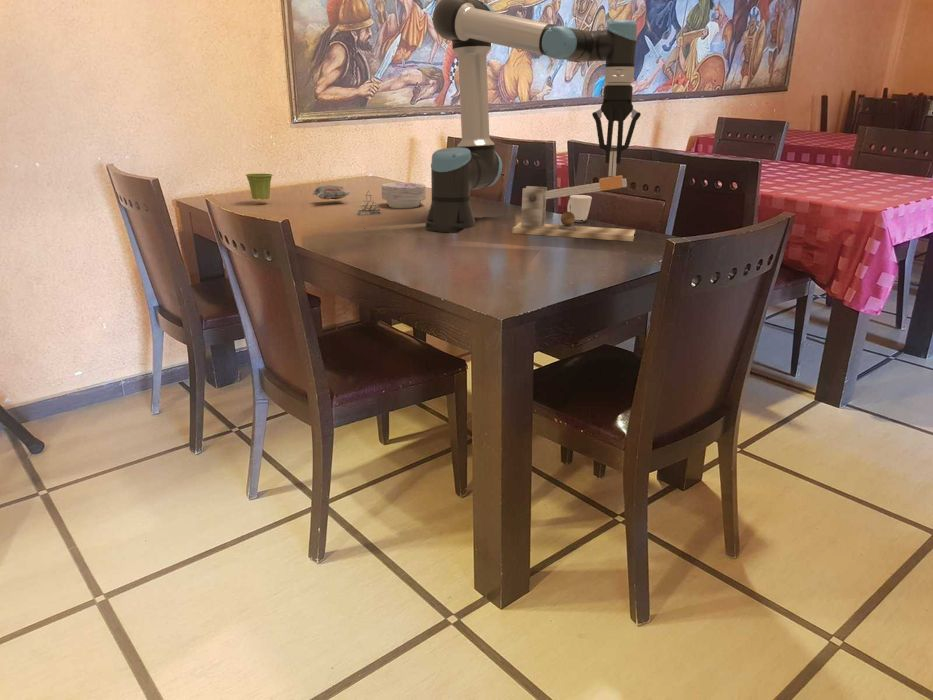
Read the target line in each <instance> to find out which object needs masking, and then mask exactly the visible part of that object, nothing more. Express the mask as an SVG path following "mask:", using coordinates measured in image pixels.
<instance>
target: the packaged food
mask: <svg viewBox="0 0 933 700" xmlns="http://www.w3.org/2000/svg"><path fill="white" fill-rule="evenodd" d="M312 195H313V196H314V195H315V196H316V197H318V198H320V199H321V200H328V201H330V200H329V199H335V200H339V199H343V198H345V197H347V196H349V195H350V192H349V191H346V190H345V189H344V187H343V186H339V185H322V186H318V187H317V188H315V190H314V191H313V193H312Z"/></svg>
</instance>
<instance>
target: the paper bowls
mask: <svg viewBox="0 0 933 700" xmlns="http://www.w3.org/2000/svg"><path fill="white" fill-rule="evenodd" d="M426 189H427V188H426V184H422V183H415V182H414V183H413V182H391V183H390V182H389V183H383V184H382V185H381V199H382V200H386V203H387V205H388V207H390V208H391V209H392V208H393V209H412V208H418V207H420V204H421V202H423V201H425V200H426V196H427V195H426V191H427V190H426Z"/></svg>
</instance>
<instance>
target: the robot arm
mask: <svg viewBox="0 0 933 700" xmlns="http://www.w3.org/2000/svg"><path fill="white" fill-rule="evenodd" d="M432 24H433V27H434V30H435V32H436V33H437V34H438V35H439V36H440V37H441V38H443V40H447V41H450V42H451V46H452V52H453V53H454V54H455V55H456V56H457V63H458V66H457V67H458V69H457V70H458V83H459V84H458V85H459V87H458V88H459V106H460V126H461V141H460V142H459V143H458V144H457V145H456V146H457V147H445V148H440V149H438V150H435V151H434V152H433V153H432V156H431V164H430V168H431V169H430V170H431V172H430V173H431V177H430V178H431V203H430V206H429V209H428V213H427V216H426V220H425V228H426V229H427V230H429V231H433V232H439V233H440V232H441V233H460V232H461V231H464V230H465V229H468V228H470V229H471V228H473V227H475V226H476V220H475V217H474V212H473V209H472V206H471V201H470V200H471V191H472V190H473V191H474V190H484V189H486V188H488V187H491V186H494V185H495V184H496V183H497V181H498V180H500V177H501V175H502V171H503V162H502V159H501V157H500V156H499V154H498V153H497V152H496V148H495V147H496V146H495V143H494V141H492V139H491V138H490V114H489V112H490V111H489V91H488V63H487V61H488V60H487V59H488V57H487V55H488V53H489V52H490V51H491V49H492V44H494V45H498V46H503V47H508V48H512V49H517V50H521V51H526V52H530V53H533V54H534V53H535V54H537V55H543V56H546V57H549V58H551V59H555V60H560V61H561V60H566V61H567V62H569V63H570V62H572V63H573V62H574V63H583V62H605V67H604V79H603V80H604V82H603V83H604V84H605V86H604V87H603V97H602V104H601V106H600V109H598V110H596V111H594V112H592V114H591V116H592V118H593V119H594V121H595V125H596V132H597V133H596V134H597V140H598V145H599V146H598V147H599V148H600V149H601V150H604V151H605V164H608V177H613V176H617V165H619V164H621V162H622V152H624V151H625V150H627V149H629V147H630V144H631V140H632V138H633V133H634V131H635V128H636V123H637V122H638V120H639V118H640V117H641V114H642V113H641V112H640V111H638V110H636V109H635V108H634V105H633V101H632V100H633V89H634V87H633V85H631V84H633V83H634V77H635V76H634V75H635V60H636V51H637V41H638V38H637V37H638V35H637V34H638V25H637V24H638V23H637V22H636V21H635V20H632V19H631V20H630V19H616V20H610V21H609V22H608V24H607V27H606V29H602V30H584V29H577V28H573V27H568V26H565V25H559V24H552V23H549V22H544V21H538V20H534V19H528V18H523V17H520V16H519V17H518V16H513V15H510V14H505V13H504V14H503V13H499V12H495V11H494V9H493V8H492V7H491V5H489V4H488V3H486V2H483V1H481V0H439V1H438V3H437V4H436V5H435V7H434V9H433V12H432ZM602 114H603V115H604V117H605V119H606V120H607V134H606V144H605V138H604V132H603V125H602V119H601V118H602V116H603V115H602ZM630 114H631V115H630ZM629 116H630V117H631V121H630V125H629V127H628V132H627V135H626V138H625V141H624V144H623V137H624V134H623V133H624V121H625V120H626V119H627V118H628V117H629ZM615 122H617V136H616V138H617V140H616V150H615V151H613V150H612V143H613V132H614V123H615Z"/></svg>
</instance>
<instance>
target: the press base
mask: <svg viewBox="0 0 933 700" xmlns="http://www.w3.org/2000/svg"><path fill="white" fill-rule="evenodd" d="M544 191H548V187H547V186H531V185H530V186H529V185H527V186H525V188H524V187H523V188H522V195H521V196H522V197H521V216H520V217H521V219H520V222H518V223H516V225H514V226H513V227H512V234H519V235H532V236H534V235H535V236H549V237H563V238H565V237H566V238H578V239H580V238H581V239H590V240H591V239H592V240H593V239H594V240H605V241H606V240H608V241H622V242H634V239H635V236H634V234H636V229H630V228H629V229H628V228H614V227H612V228H611V227H598V226H597V227H595V226H583V225H581V226H580V225H575V223H574V220H575V217H574V214H573V213H571V211H570V212H568V211H565V212H563V213H562V214H561V216H560V221H561V223H560V224H554V223H553V224H551V223H546V213H547V199H544Z"/></svg>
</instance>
